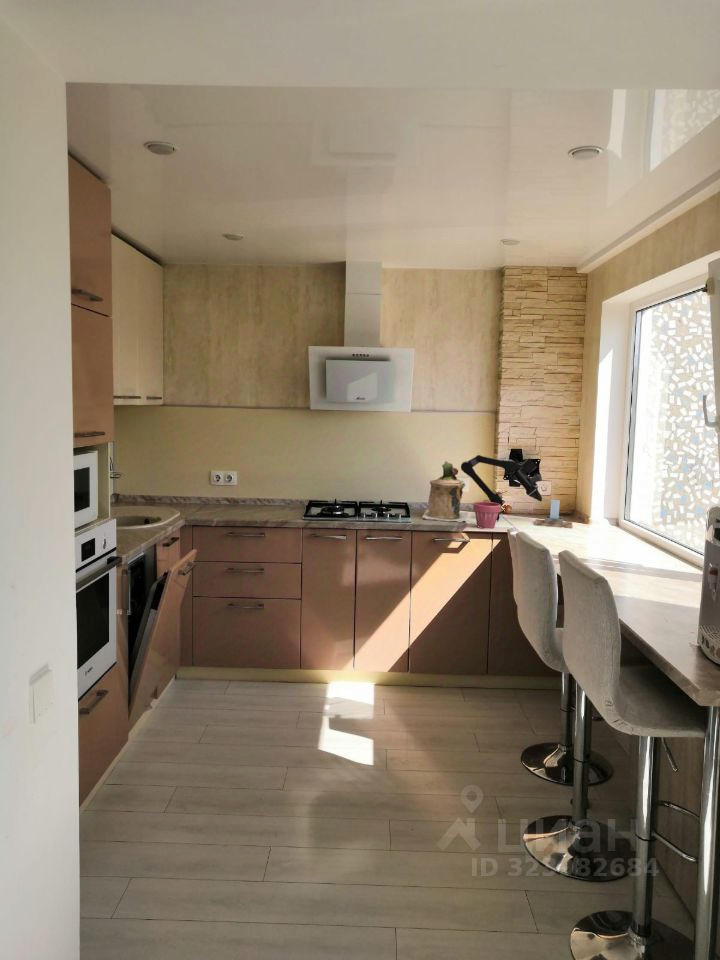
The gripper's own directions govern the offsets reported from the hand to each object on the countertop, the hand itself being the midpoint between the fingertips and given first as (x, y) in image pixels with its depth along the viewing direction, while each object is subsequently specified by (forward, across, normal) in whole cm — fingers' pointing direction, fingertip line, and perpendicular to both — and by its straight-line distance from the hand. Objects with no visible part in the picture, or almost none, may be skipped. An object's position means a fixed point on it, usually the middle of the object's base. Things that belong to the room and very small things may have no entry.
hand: (541, 499), depth 415 cm
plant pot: (-10, -27, +29) cm, 41 cm away
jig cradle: (+15, 0, +4) cm, 15 cm away
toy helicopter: (-8, +26, +28) cm, 39 cm away
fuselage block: (+14, 0, +3) cm, 14 cm away
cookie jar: (-27, -8, +47) cm, 55 cm away
